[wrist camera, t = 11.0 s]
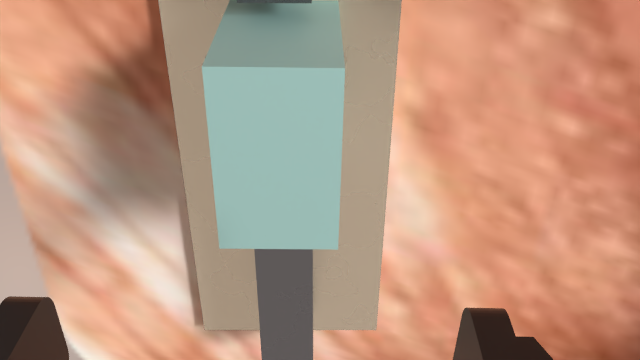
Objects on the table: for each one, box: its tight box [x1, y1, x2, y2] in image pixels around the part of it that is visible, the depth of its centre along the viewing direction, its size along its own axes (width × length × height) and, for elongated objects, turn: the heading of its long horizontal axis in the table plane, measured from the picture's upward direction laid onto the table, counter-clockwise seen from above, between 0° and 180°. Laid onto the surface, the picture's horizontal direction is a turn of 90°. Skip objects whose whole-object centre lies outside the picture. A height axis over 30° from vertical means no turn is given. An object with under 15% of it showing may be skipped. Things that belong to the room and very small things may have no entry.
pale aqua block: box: [202, 0, 345, 250], centre depth 21 cm, size 6×4×6 cm, turn 179°
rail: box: [158, 0, 402, 360], centre depth 23 cm, size 28×9×4 cm, turn 0°
